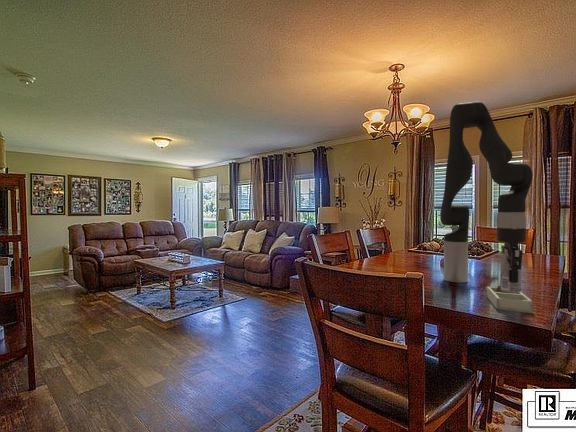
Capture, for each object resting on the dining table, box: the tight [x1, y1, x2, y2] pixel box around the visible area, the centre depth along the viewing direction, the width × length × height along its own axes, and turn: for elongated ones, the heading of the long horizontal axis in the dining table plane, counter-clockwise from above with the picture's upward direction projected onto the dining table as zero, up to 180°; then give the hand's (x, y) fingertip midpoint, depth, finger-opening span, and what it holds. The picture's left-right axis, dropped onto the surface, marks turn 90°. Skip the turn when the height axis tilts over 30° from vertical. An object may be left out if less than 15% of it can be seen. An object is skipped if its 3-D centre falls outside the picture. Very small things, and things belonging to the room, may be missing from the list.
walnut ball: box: [496, 284, 514, 294], centre depth 105 cm, size 5×5×5 cm
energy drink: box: [499, 251, 522, 293], centre depth 98 cm, size 5×5×12 cm
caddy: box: [486, 286, 534, 314], centre depth 101 cm, size 16×9×4 cm, turn 157°
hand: (510, 280), depth 98 cm, fingers closed on energy drink, 5 cm apart
